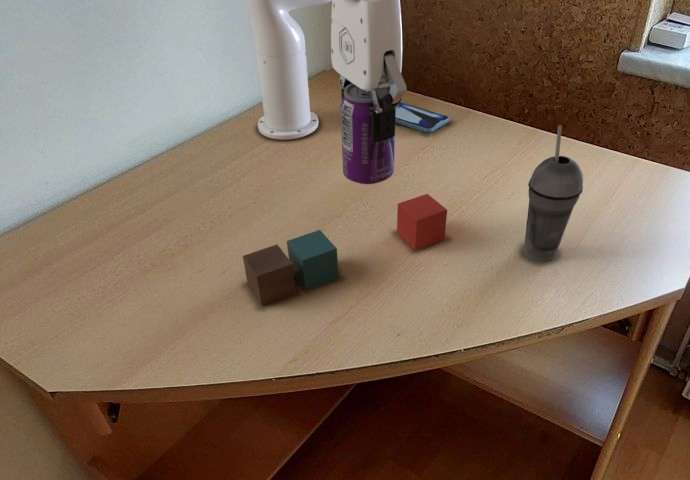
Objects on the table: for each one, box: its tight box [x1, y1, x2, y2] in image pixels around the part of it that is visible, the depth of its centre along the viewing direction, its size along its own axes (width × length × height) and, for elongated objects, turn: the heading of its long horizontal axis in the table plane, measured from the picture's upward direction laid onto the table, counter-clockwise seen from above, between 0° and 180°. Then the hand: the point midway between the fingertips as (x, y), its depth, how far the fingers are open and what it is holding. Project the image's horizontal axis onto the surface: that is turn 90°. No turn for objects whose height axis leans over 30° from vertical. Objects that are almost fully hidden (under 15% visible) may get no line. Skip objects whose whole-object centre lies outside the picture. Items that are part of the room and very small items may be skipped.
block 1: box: [242, 244, 297, 307], centre depth 90 cm, size 6×6×6 cm
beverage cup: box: [523, 124, 584, 263], centre depth 87 cm, size 7×7×20 cm
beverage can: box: [340, 80, 396, 185], centre depth 82 cm, size 7×7×12 cm
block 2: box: [286, 229, 339, 291], centre depth 92 cm, size 6×6×6 cm
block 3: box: [396, 193, 448, 251], centre depth 97 cm, size 6×6×6 cm
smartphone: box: [395, 101, 450, 133], centre depth 127 cm, size 7×1×15 cm
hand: (367, 126), depth 81 cm, fingers closed on beverage can, 7 cm apart
